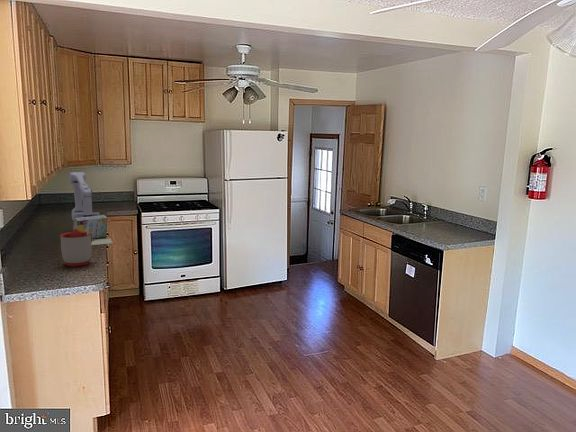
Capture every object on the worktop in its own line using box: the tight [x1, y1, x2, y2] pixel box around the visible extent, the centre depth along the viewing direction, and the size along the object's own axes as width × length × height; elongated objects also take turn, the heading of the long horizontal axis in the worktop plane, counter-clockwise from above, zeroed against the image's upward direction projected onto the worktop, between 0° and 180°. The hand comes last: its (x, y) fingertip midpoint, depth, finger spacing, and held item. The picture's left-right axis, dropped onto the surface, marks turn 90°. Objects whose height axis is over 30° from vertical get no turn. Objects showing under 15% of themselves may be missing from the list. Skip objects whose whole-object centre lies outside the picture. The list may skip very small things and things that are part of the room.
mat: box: [91, 238, 114, 246], centre depth 298 cm, size 16×26×1 cm, turn 118°
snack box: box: [72, 214, 109, 239], centre depth 306 cm, size 21×6×15 cm, turn 141°
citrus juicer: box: [59, 229, 94, 268], centre depth 246 cm, size 16×17×20 cm
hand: (88, 226), depth 309 cm, fingers closed
